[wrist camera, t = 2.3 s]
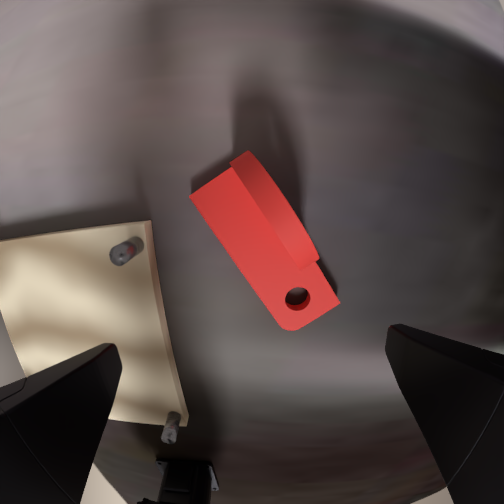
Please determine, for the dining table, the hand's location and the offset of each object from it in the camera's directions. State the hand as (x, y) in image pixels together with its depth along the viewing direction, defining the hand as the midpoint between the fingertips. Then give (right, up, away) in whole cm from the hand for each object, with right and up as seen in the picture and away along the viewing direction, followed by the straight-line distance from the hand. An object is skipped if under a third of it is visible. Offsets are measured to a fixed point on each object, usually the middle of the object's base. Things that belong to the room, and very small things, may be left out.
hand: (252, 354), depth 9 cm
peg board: (-15, -4, +13) cm, 21 cm away
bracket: (+1, +3, +12) cm, 13 cm away
